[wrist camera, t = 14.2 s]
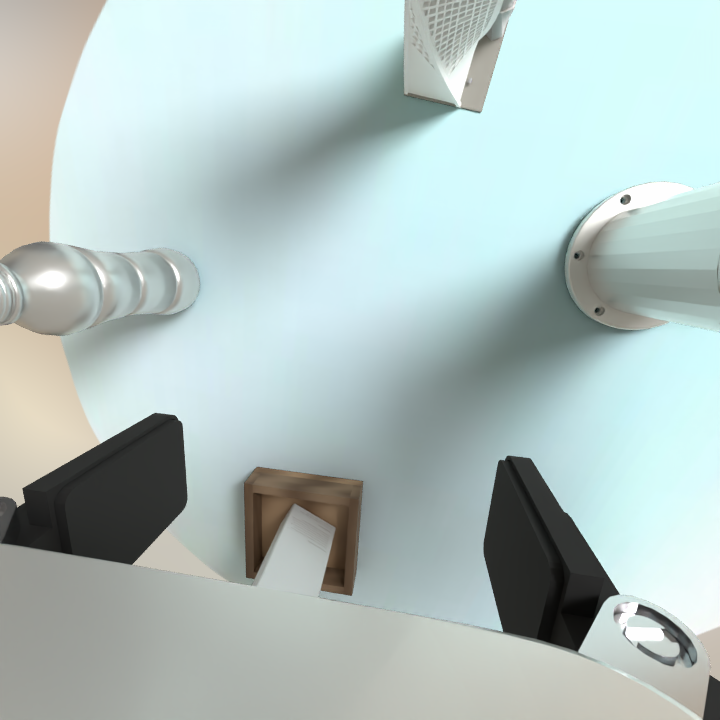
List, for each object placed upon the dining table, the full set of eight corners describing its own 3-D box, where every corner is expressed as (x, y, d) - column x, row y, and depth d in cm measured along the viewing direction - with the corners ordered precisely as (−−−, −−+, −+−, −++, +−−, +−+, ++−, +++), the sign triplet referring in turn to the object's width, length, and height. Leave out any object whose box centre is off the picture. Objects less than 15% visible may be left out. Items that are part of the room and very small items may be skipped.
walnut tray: (362, 481, 43) (358, 499, 39) (356, 571, 46) (351, 595, 43) (256, 466, 44) (244, 483, 41) (257, 555, 47) (246, 577, 44)
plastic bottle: (218, 270, 39) (28, 274, 19) (192, 323, 41) (-4, 373, 21) (166, 236, 39) (-76, 207, 19) (143, 291, 40) (-99, 313, 21)
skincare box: (279, 525, 45) (232, 617, 33) (295, 499, 43) (253, 585, 32) (322, 551, 45) (291, 651, 33) (339, 525, 43) (313, 620, 32)
